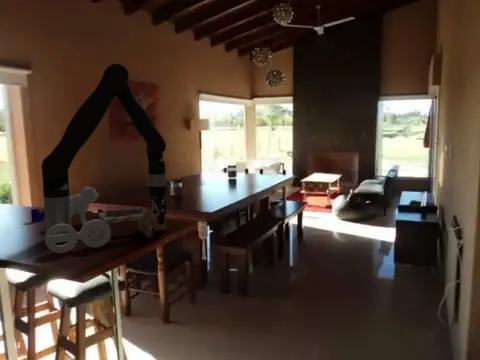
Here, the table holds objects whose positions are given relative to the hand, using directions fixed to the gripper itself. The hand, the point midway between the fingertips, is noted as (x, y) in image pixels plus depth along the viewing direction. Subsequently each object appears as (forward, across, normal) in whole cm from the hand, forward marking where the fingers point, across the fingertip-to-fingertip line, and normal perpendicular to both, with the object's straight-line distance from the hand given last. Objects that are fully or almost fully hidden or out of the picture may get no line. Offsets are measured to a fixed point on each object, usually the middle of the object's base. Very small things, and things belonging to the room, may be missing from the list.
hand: (158, 221), depth 175 cm
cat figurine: (+3, -26, -31) cm, 41 cm away
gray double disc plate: (+3, +14, -34) cm, 37 cm away
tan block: (+3, 0, 0) cm, 3 cm away
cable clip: (+4, -47, -43) cm, 64 cm away
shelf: (+3, +4, -15) cm, 16 cm away
